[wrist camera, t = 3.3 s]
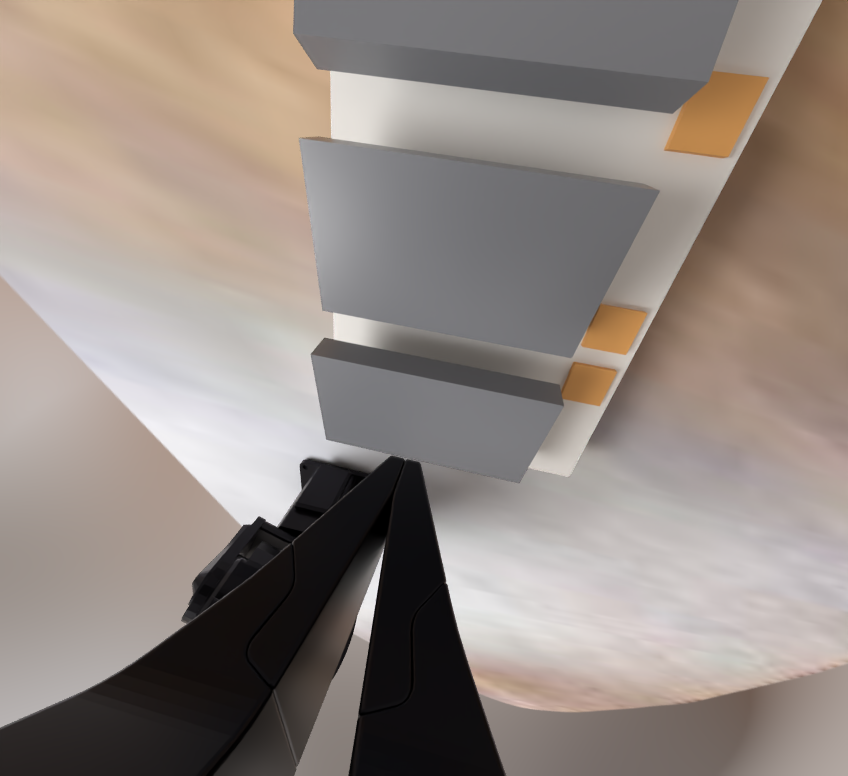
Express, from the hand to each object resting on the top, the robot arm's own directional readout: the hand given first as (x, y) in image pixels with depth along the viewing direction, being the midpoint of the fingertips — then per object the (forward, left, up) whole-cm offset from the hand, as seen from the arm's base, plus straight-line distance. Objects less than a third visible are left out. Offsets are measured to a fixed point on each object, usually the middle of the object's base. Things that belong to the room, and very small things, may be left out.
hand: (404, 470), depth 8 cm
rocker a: (-2, 0, -8) cm, 8 cm away
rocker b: (+5, 0, -8) cm, 9 cm away
